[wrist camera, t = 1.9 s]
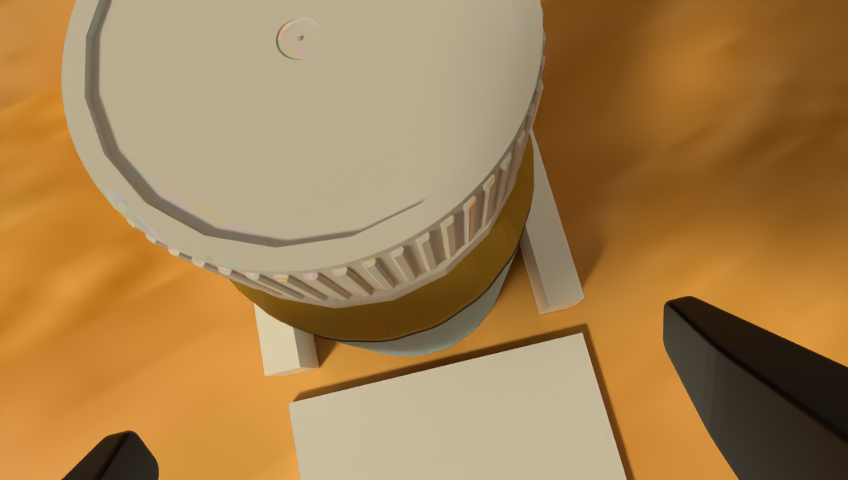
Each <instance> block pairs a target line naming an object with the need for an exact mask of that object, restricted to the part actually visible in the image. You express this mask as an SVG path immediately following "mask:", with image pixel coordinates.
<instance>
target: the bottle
mask: <svg viewBox="0 0 848 480" xmlns="http://www.w3.org/2000/svg"><path fill="white" fill-rule="evenodd" d="M543 18H544V12H543V8H542V7H541V2H540V0H77V1H76V4H75V6H74V9H73V12H72V15H71V18H70V22H69V25H68V29H67V33H66V38H65V43H64V50H63V59H62V95H63V104H64V110H65V115H66V120H67V124H68V128H69V131H70V134H71V138H72V140H73V143H74V145H75V148H76V150H77V153H78V155H79V157H80V159H81V161H82V163H83V165H84V167H85V169H86V170H87V172H88V174H89V175H90V177H91V178H92V180H93V182H94V183H95V184H96V186H97V187H98V188H99V190H100V191H101V192H102V194H103V195H104V196H105V197H106V198H107V200H108V201H109V202H110V203H111V205H112V206H113V207H114V208H115V209H116V210H118V211H119V212H120V213H121V214H122V215H123V216H124V217H125V218H126V219H127V222H128V223H129V224H130V225H131V226H132V227H133V228H136V229H138V230H140V231H142V232H145V233H146V234H145V235H146V237H147V239H149V240H150V241H151V242H153V243H154V244H157V245H159V246H161V247H164V248H166V249H168V251H169V252H170V253H171V254H173V255H174V256H176V257H179V258H181V259H184V260H186V261H188V262H191V263H193V264H194V265H196V266H199V267H201V268H204V269H206V270H209V271H211V272H214V273H216V274H219V275H221V276H224V277H226V278H228V279H230V281H231V282H232V283H233V284H234V285H235V286H236V288H237V289H238V290H239V291H240V292H242V293H243V294H244V295H245V296H246V297H248V298H249V299H250V300H251V301H252V302H254V303H255V304H256V305H257V306H258V307H260V308H261V309H262V310H263V311H265V312H266V313H267V314H268V315H270V316H272V317H273V318H275V319H277V320H279V321H280V322H283V323H285V324H287V325H289V326H291V327H294V328H297V329H300V330H302V331H305V332H308V333H311V334H313V335H316V336H319V337H322V338H324V339H328V340H332V341H335V342H339V343H343V344H347V345H351V346H355V347H359V348H363V349H367V350H371V351H375V352H379V353H382V354H387V355H392V356H422V355H427V354H431V353H434V352H437V351H441V350H444V349H447V348H449V347H451V346H453V345H455V344H456V343H458V342H459V341H461V340H462V339H463V338H465V337H466V336H468V335H469V334H470V333H472V332H473V331H474V330H475V329H476V328H477V327H478V326H479V325H480V324H481V322H482V321H483V319H484V318H485V317H486V315H487V314H488V313H489V311H490V310H491V309H492V307H493V305H494V303H495V301H496V299H497V297H498V295H499V292H500V290H501V287H502V285H503V282H504V280H505V278H506V275H507V273H508V270H509V268H510V265H511V263H512V261H513V258H514V256H515V253H516V251H517V249H518V246H519V243H520V240H521V237H522V234H523V231H524V228H525V225H526V222H527V219H528V215H529V212H530V209H531V203H532V199H533V192H534V154H533V145H532V140H531V135H530V133H529V132H530V128H531V125H532V121H533V117H534V113H535V109H536V106H537V102H538V98H539V94H540V90H541V86H542V82H541V79H542V75H543V71H544V67H545V59H546V58H545V56H544V54H543V51H544V47H545V43H546V33H545V31H544V29H543Z"/></svg>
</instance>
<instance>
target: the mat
mask: <svg viewBox="0 0 848 480" xmlns="http://www.w3.org/2000/svg"><path fill="white" fill-rule="evenodd" d="M288 404H289V410H290V416H291V423H292V429H293V435H294V441H295V447H296V454H297V460H298V466H299V472H300V478H301V480H627V479H626V475H625V472H624V469H623V466H622V462H621V459H620V456H619V452H618V449H617V446H616V442H615V439H614V436H613V432H612V429H611V426H610V423H609V419H608V416H607V413H606V409H605V406H604V403H603V399H602V396H601V393H600V390H599V386H598V383H597V380H596V376H595V373H594V370H593V366H592V363H591V360H590V357H589V353H588V350H587V347H586V343H585V340H584V337H583V333H579V334H575V335H570V336H566V337H562V338H558V339H554V340H550V341H545V342H541V343H537V344H533V345H529V346H525V347H520V348H516V349H512V350H508V351H504V352H500V353H496V354H491V355H487V356H483V357H479V358H475V359H471V360H466V361H462V362H458V363H454V364H450V365H446V366H441V367H437V368H433V369H429V370H425V371H421V372H417V373H412V374H408V375H404V376H400V377H396V378H392V379H387V380H383V381H379V382H375V383H371V384H367V385H362V386H358V387H354V388H350V389H346V390H342V391H338V392H333V393H329V394H325V395H321V396H317V397H313V398H308V399H304V400H300V401H296V402H292V403H288Z"/></svg>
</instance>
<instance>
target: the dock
mask: <svg viewBox="0 0 848 480" xmlns="http://www.w3.org/2000/svg"><path fill="white" fill-rule="evenodd" d="M541 82H542V80H541ZM543 88H544V87H543V84H542V86H541V90H540V94H539V98H538V102H537V106H536V109H535V113H534V117H533V121H532V125H531V128H530V132H529V133H530V135H531V140H532V145H533V154H534V192H533V199H532V203H531V209H530V212H529V215H528V219H527V222H526V225H525V228H524V231H523V234H522V237H521V240H520V243H519V245H520V249H521V252H522V256H523V259H524V263H525V266H526V270H527V273H528V277H529V280H530V284H531V287H532V291H533V294H534V298H535V301H536V305H537V308H538V312H539V315H542V314H546V313H550V312H554V311H558V310H562V309H567V308H571V307H572V306H574V305H575V304H577V303H579V302H580V301H582V300H583V299H585V297H584V294H583V291H582V288H581V284H580V281H579V278H578V275H577V271H576V268H575V265H574V262H573V258H572V255H571V252H570V249H569V246H568V242H567V239H566V236H565V233H564V229H563V226H562V223H561V220H560V216H559V213H558V210H557V207H556V203H555V200H554V197H553V194H552V190H551V187H550V184H549V181H548V178H547V174H546V171H545V168H544V165H543V161H542V158H541V155H540V152H539V148H538V145H537V142H536V139H535V135H534V132H533V129H532V128H533V124H534V121H535V117H536V113H537V110H538V106H539V102H540V99H541V95H542V91H543ZM254 307H255V313H256V320H257V326H258V333H259V339H260V346H261V353H262V359H263V366H264V372H265V376H289V375H293V374H297V373H301V372H305V371H310V370H314V369H318V368H319V363H318V357H317V352H316V346H315V341H314V335H313V334H311V333H308V332H305V331H302V330H300V329H297V328H294V327H291V326H289V325H287V324H285V323H283V322H280V321H279V320H277V319H275V318H273V317H272V316H270V315H268V314H267V313H266V312H265V311H263V310H262V309H261V308H260V307H258V306H257V305H256V304H255V303H254Z"/></svg>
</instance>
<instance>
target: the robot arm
mask: <svg viewBox="0 0 848 480" xmlns="http://www.w3.org/2000/svg"><path fill="white" fill-rule="evenodd" d="M663 341H664V346H665V349H666V351H667V354H668V356H669V358H670V359H671V361H672V363H673V365H674V367H675V369H676V371H677V373H678V375H679V377H680V379H681V381H682V383H683V385H684V387H685V389H686V391H687V393H688V395H689V396H690V398H691V400H692V402H693V404H694V406H695V408H696V410H697V412H698V414H699V416H700V418H701V420H702V422H703V424H704V425H705V427H706V429H707V431H708V433H709V434H710V436H711V438H712V439H713V441H714V442H715V444H716V446H717V447H718V449H719V450H720V452H721V453H722V455H723V456H724V458H725V459H726V461H727V462H728V464H729V465H730V467H731V468H732V470H733V471H734V473H735V475H736V476H737V478H738V479H739V480H848V367H846V366H844V365H842V364H840V363H837V362H835V361H833V360H831V359H829V358H826V357H824V356H822V355H820V354H818V353H815V352H813V351H811V350H809V349H807V348H805V347H802V346H800V345H798V344H796V343H794V342H791V341H789V340H787V339H785V338H783V337H780V336H778V335H776V334H774V333H772V332H770V331H767V330H765V329H763V328H761V327H759V326H756V325H754V324H752V323H750V322H748V321H745V320H743V319H741V318H739V317H737V316H735V315H732V314H730V313H728V312H726V311H724V310H721V309H719V308H717V307H715V306H713V305H710V304H708V303H706V302H704V301H702V300H700V299H697V298H695V297H692V296H686V297H682V298H677V299H673V300H669V301H667V302H666V303H665V305H664V317H663ZM158 478H159V467H158V463H157V461H156V459H155V457H154V456H153V455H152V453H151V452H150V451H149V449H148V448H147V447H146V445H145V444H144V442H143V441H142V440H141V438H140V437H139V436H138V435H137V434H136V433H135V432H133V431H124V432H120V433H116V434H112V435H109V436H106V437H105V438H104V439H102V440H101V441H100V442H99V443H98V444H97V445H96V446H95V447H94V448H93V449H92V450H91V451H90V452H89V453H88V454H87V455H86V456H85V457H84V458H83V459H82V460H81V461H80V462H79V463H78V464H77V465H76V466H75V467H74V468H73V469H72V470H71V471H70V472H69V473H68V474H67V475H66V476H65V477H64V478H63V479H62V480H158Z"/></svg>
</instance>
